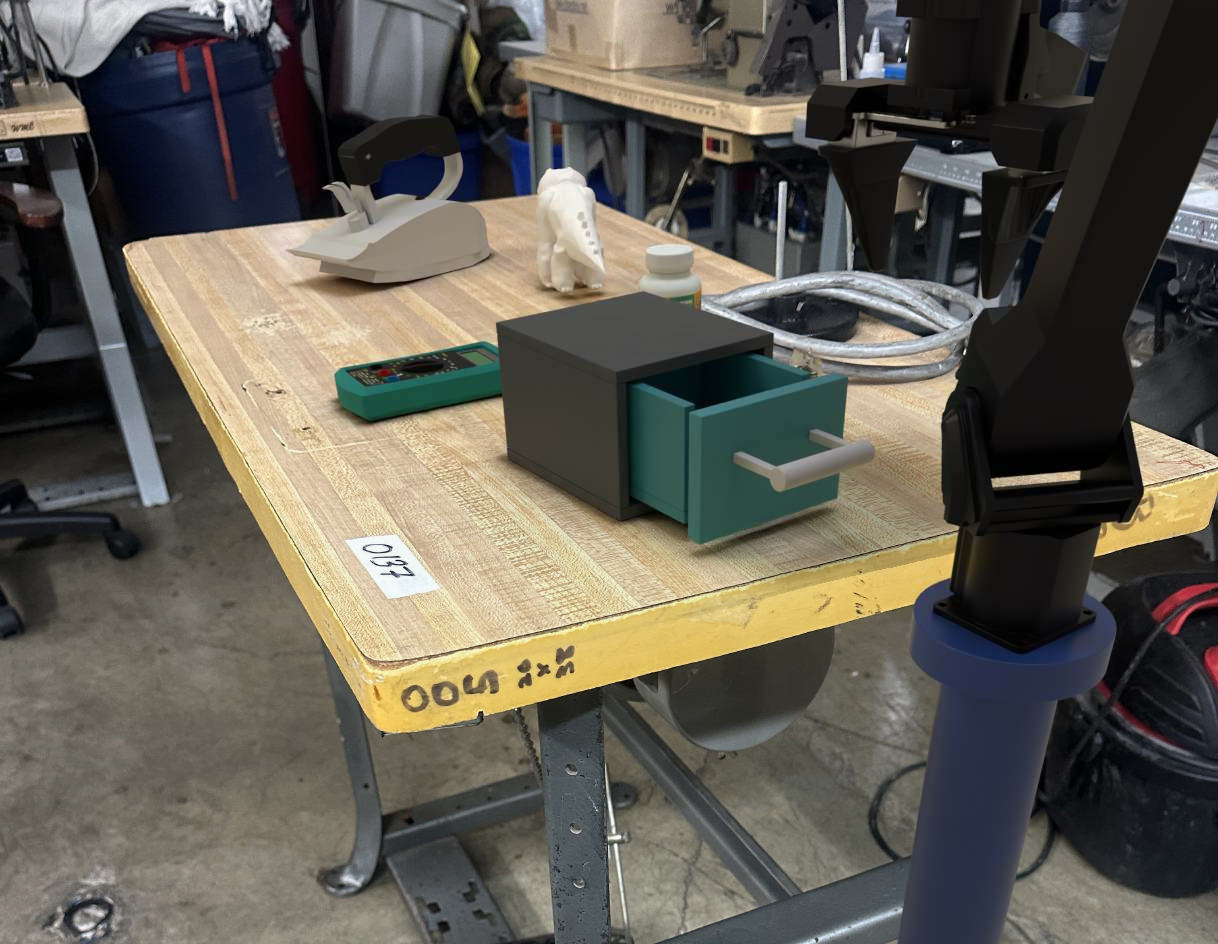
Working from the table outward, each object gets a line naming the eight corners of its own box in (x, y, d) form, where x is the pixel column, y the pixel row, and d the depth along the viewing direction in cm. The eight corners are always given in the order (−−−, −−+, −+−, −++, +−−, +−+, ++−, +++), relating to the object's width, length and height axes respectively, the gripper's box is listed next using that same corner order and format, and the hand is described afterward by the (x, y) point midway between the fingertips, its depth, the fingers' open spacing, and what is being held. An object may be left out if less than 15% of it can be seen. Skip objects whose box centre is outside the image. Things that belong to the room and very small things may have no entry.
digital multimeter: (331, 401, 98) (324, 365, 96) (492, 370, 103) (489, 335, 101) (359, 427, 92) (353, 389, 91) (527, 392, 98) (525, 356, 96)
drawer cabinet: (767, 475, 81) (774, 332, 76) (620, 521, 76) (615, 371, 70) (645, 420, 91) (643, 290, 85) (507, 458, 86) (495, 321, 80)
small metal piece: (767, 378, 99) (769, 342, 97) (791, 374, 99) (793, 338, 97) (803, 398, 94) (805, 361, 92) (828, 394, 95) (831, 356, 93)
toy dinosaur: (581, 266, 133) (576, 156, 126) (640, 319, 115) (638, 193, 108) (523, 271, 132) (515, 161, 125) (573, 326, 113) (567, 200, 107)
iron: (291, 285, 130) (262, 132, 121) (449, 244, 145) (433, 104, 136) (353, 298, 125) (328, 139, 116) (511, 254, 139) (499, 109, 130)
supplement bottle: (669, 354, 105) (668, 238, 99) (713, 366, 102) (715, 246, 96) (626, 368, 102) (624, 250, 96) (671, 381, 99) (671, 259, 93)
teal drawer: (892, 522, 72) (908, 396, 68) (751, 573, 67) (757, 440, 63) (708, 441, 85) (711, 330, 80) (578, 479, 80) (572, 362, 75)
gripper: (1223, -40, 59) (1147, 290, 68) (944, -39, 71) (912, 239, 81) (1081, -28, 54) (1019, 324, 63) (808, -29, 66) (791, 265, 76)
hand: (931, 283), depth 71 cm, fingers open, 9 cm apart
